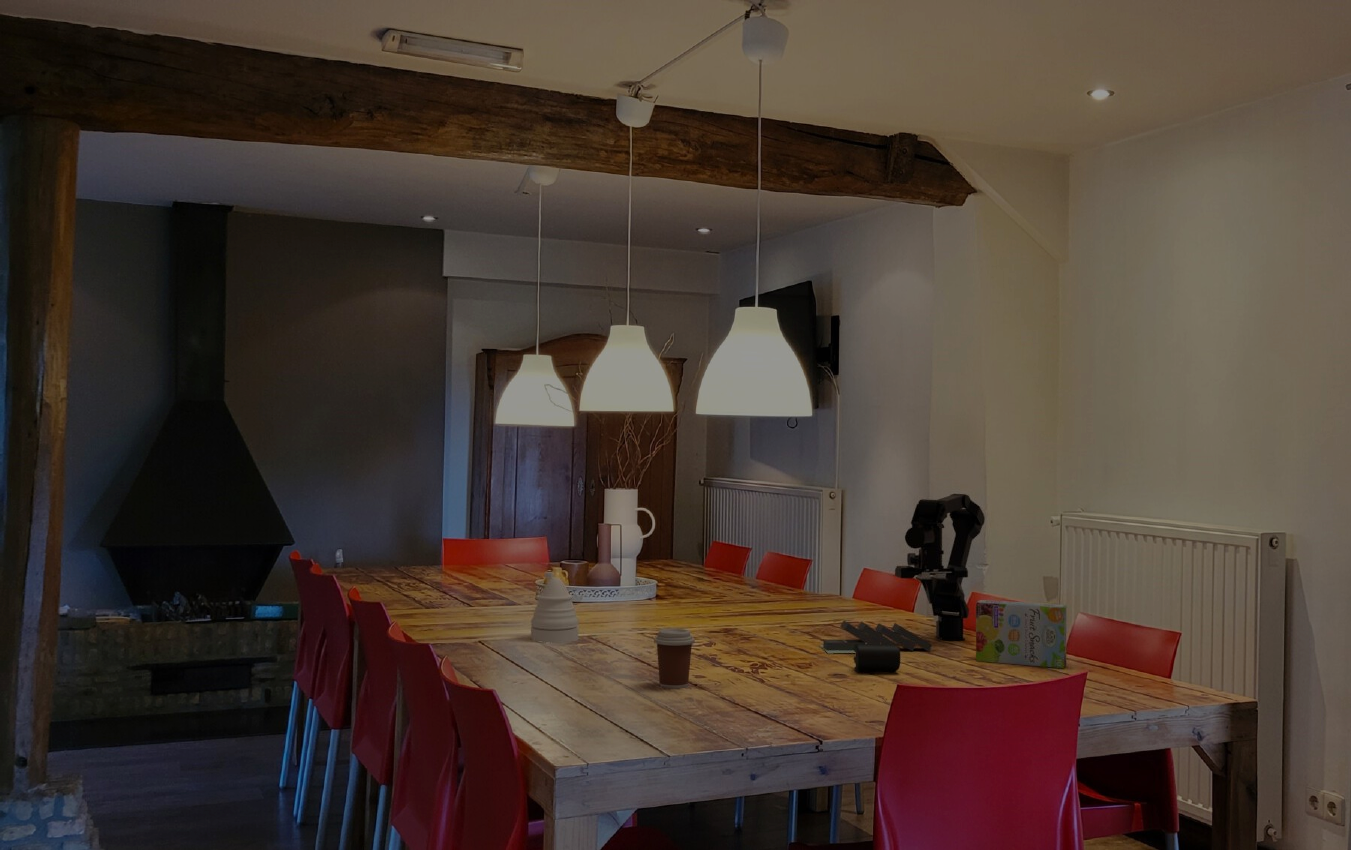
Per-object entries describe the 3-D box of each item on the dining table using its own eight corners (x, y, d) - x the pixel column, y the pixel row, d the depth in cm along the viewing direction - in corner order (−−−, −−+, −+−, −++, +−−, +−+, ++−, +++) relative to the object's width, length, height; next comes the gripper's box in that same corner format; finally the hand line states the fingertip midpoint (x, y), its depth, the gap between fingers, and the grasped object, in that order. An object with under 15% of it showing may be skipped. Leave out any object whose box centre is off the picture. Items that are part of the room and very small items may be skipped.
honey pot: (522, 640, 305) (523, 573, 305) (545, 633, 317) (546, 569, 317) (564, 644, 300) (565, 576, 300) (586, 637, 312) (587, 571, 312)
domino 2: (892, 641, 300) (861, 620, 299) (897, 644, 295) (866, 623, 294) (888, 648, 300) (857, 627, 299) (893, 651, 295) (861, 630, 294)
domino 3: (911, 640, 300) (878, 622, 299) (916, 644, 295) (883, 625, 294) (907, 648, 300) (874, 629, 299) (912, 651, 295) (879, 632, 294)
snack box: (1066, 665, 278) (1067, 604, 279) (1064, 669, 273) (1064, 606, 273) (978, 657, 287) (979, 598, 287) (974, 661, 282) (975, 600, 282)
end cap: (858, 675, 263) (858, 646, 264) (852, 669, 270) (852, 640, 271) (900, 675, 264) (900, 646, 264) (893, 669, 271) (893, 640, 271)
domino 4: (927, 640, 300) (895, 622, 300) (932, 644, 295) (900, 625, 295) (923, 647, 300) (891, 629, 300) (928, 651, 295) (896, 632, 295)
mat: (852, 645, 302) (852, 644, 302) (862, 653, 290) (862, 652, 290) (818, 645, 302) (818, 644, 302) (828, 654, 290) (828, 652, 290)
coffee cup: (680, 691, 243) (681, 635, 243) (645, 686, 248) (645, 631, 248) (702, 684, 251) (702, 629, 251) (667, 679, 256) (668, 626, 256)
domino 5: (860, 638, 299) (823, 638, 298) (865, 642, 294) (827, 642, 293) (860, 646, 299) (823, 647, 298) (865, 650, 294) (827, 650, 293)
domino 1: (875, 639, 299) (844, 619, 299) (880, 642, 294) (848, 622, 294) (871, 646, 299) (839, 626, 299) (876, 649, 294) (844, 629, 294)
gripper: (953, 542, 315) (953, 598, 315) (888, 543, 313) (888, 599, 313) (968, 546, 304) (968, 604, 304) (901, 547, 302) (901, 605, 301)
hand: (931, 603), depth 306 cm, fingers closed
